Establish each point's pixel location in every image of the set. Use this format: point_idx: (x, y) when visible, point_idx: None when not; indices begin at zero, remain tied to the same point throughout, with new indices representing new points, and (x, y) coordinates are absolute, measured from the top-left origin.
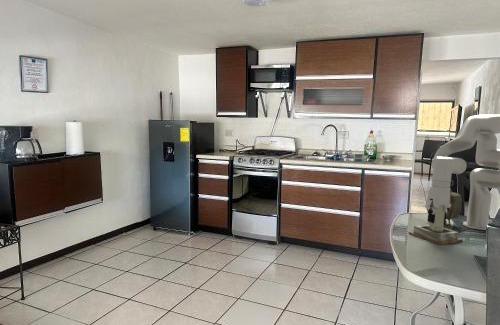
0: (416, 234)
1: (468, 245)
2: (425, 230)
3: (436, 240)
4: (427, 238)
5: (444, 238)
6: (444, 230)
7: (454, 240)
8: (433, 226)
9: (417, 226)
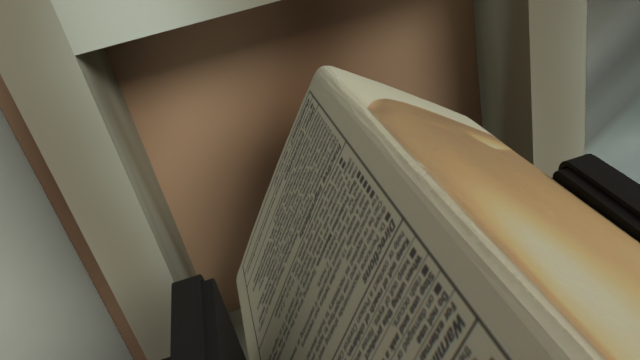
0: (3, 111)
1: None
2: (98, 255)
3: None
4: (97, 282)
5: None
6: (520, 151)
7: None
8: (245, 316)
9: (51, 24)
